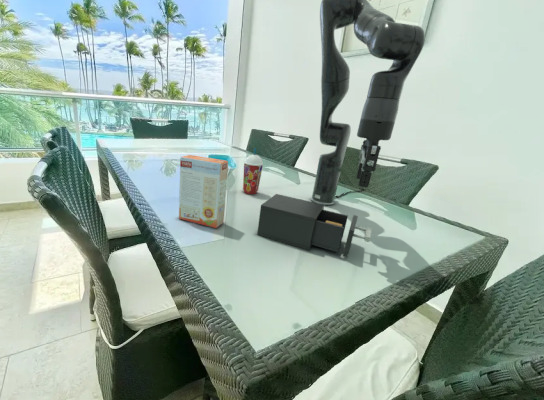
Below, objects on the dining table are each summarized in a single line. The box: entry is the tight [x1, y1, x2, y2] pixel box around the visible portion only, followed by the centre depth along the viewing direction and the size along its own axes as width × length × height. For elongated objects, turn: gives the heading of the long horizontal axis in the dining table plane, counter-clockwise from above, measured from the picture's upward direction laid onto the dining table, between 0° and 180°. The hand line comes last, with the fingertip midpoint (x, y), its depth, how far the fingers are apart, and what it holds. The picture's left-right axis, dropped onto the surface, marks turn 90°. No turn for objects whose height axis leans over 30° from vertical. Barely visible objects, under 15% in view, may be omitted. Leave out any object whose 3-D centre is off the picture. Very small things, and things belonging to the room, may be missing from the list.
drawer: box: [311, 209, 373, 258], centre depth 79 cm, size 19×13×8 cm
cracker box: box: [178, 154, 229, 229], centre depth 86 cm, size 14×6×21 cm, turn 65°
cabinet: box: [256, 193, 325, 251], centre depth 84 cm, size 16×14×10 cm
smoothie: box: [242, 147, 264, 195], centre depth 120 cm, size 8×8×20 cm
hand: (361, 182), depth 72 cm, fingers open, 8 cm apart
